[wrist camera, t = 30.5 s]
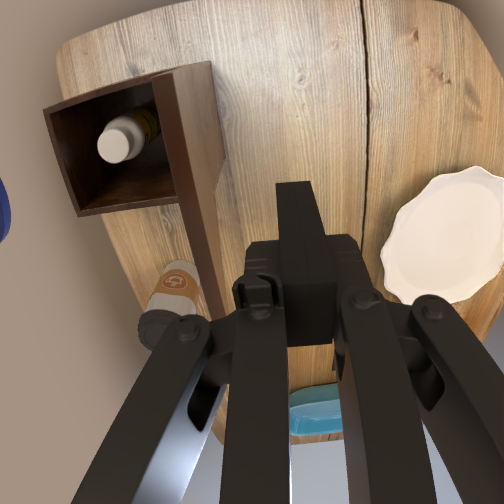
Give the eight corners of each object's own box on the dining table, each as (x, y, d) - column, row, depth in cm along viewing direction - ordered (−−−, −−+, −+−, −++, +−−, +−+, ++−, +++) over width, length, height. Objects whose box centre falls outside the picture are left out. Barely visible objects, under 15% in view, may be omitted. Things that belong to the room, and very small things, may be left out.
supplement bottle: (163, 141, 40) (138, 167, 32) (127, 145, 41) (96, 172, 33) (158, 103, 37) (130, 120, 29) (121, 108, 37) (87, 127, 29)
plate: (532, 190, 41) (539, 196, 39) (467, 306, 58) (471, 313, 56) (416, 138, 39) (423, 143, 37) (353, 293, 56) (356, 302, 54)
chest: (117, 174, 44) (77, 217, 34) (95, 89, 36) (42, 109, 26) (225, 157, 42) (212, 199, 32) (210, 60, 34) (187, 65, 24)
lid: (217, 340, 17) (232, 338, 17) (150, 77, 10) (172, 71, 10) (207, 202, 32) (215, 200, 32) (181, 66, 24) (190, 64, 24)
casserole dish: (414, 362, 70) (421, 386, 64) (398, 401, 83) (402, 421, 77) (270, 383, 75) (270, 408, 69) (280, 418, 88) (280, 439, 82)
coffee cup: (207, 256, 52) (191, 326, 40) (206, 293, 57) (192, 362, 45) (158, 250, 52) (130, 316, 40) (161, 287, 57) (139, 353, 45)
